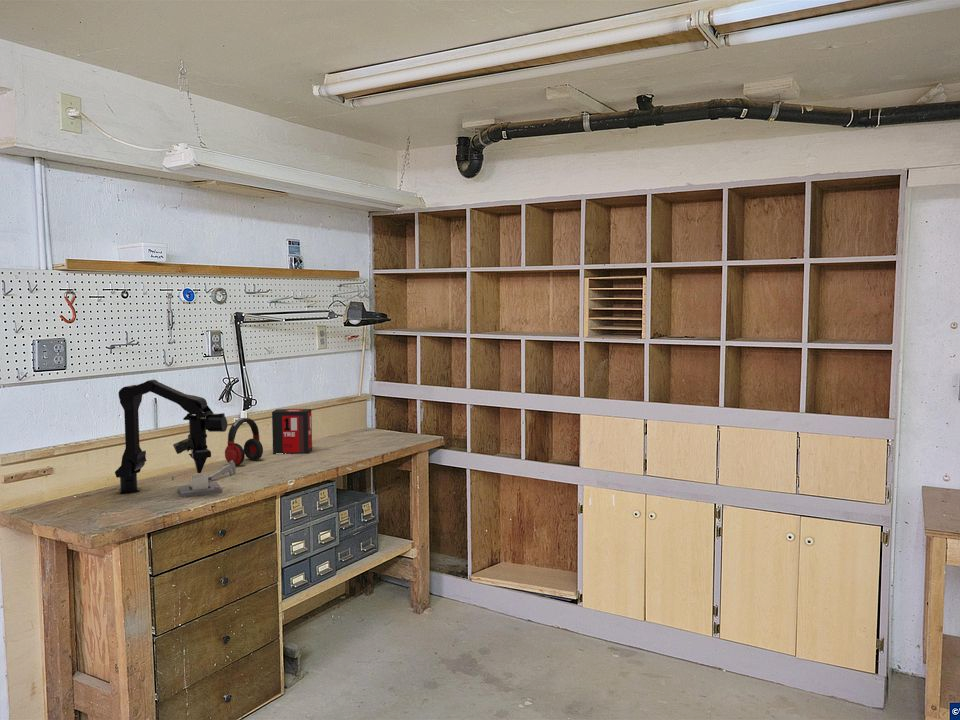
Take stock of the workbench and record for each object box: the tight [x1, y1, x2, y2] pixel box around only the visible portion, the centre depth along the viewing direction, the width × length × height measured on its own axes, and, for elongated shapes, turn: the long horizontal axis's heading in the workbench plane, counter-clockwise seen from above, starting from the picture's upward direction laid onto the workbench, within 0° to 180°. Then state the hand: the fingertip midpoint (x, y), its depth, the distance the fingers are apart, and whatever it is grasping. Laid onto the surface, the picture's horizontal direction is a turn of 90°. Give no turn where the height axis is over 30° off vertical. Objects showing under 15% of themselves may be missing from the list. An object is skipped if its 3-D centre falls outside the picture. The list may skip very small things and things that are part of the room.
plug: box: [190, 473, 213, 490], centre depth 271 cm, size 4×7×6 cm, turn 120°
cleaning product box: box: [271, 408, 313, 455], centre depth 343 cm, size 16×9×20 cm, turn 92°
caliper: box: [207, 460, 237, 482], centre depth 289 cm, size 20×1×6 cm, turn 157°
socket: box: [177, 481, 223, 499], centre depth 271 cm, size 12×14×2 cm
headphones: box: [224, 417, 264, 467], centre depth 320 cm, size 18×10×20 cm, turn 157°
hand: (199, 473), depth 270 cm, fingers closed
